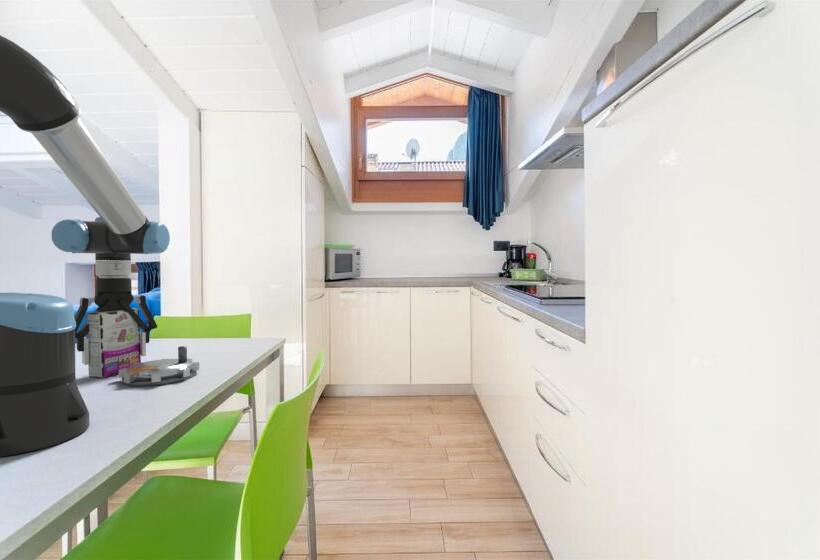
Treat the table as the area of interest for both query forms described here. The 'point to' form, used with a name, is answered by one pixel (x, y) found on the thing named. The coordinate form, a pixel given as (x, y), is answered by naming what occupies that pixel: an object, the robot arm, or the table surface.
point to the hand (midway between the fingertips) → (115, 359)
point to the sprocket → (160, 368)
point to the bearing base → (163, 382)
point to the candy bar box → (112, 342)
